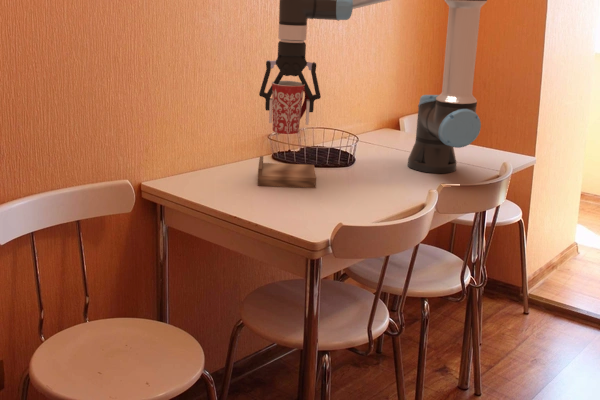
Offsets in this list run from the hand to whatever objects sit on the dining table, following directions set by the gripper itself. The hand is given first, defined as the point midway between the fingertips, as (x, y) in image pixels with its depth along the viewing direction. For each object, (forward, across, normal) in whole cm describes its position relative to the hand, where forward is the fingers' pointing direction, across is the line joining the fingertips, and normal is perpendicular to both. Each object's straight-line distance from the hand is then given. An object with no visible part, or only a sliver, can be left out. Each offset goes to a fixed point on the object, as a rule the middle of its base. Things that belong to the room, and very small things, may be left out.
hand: (288, 122), depth 195 cm
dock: (+17, 0, 0) cm, 17 cm away
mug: (+2, 0, 0) cm, 3 cm away
